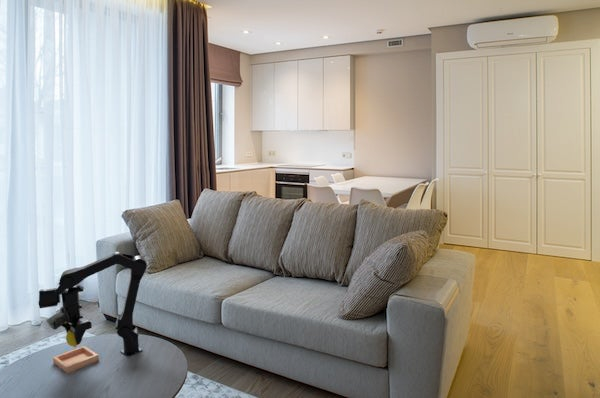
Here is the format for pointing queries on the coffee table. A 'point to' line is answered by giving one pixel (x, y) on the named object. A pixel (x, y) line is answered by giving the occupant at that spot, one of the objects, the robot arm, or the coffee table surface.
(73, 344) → the lemon
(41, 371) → the coffee table surface
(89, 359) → the dish
